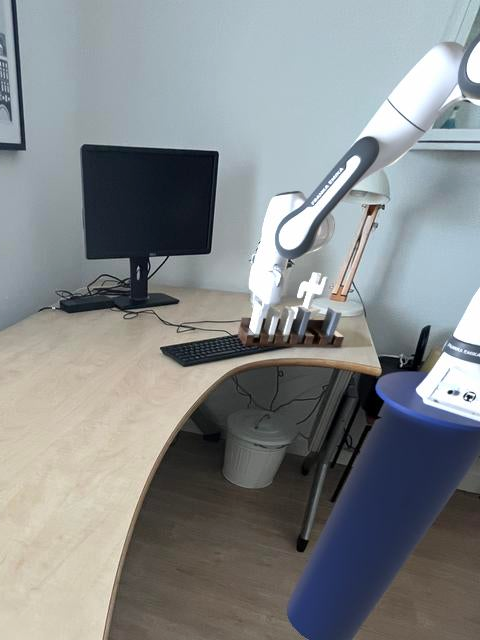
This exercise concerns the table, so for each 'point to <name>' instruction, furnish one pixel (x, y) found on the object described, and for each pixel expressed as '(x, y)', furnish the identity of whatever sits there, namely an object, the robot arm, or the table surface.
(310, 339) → the book rack
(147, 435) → the table surface
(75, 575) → the table surface
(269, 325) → the white book
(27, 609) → the table surface
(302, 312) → the grey book
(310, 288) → the figurine
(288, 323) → the white book
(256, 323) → the white book
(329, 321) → the grey book
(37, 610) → the table surface
